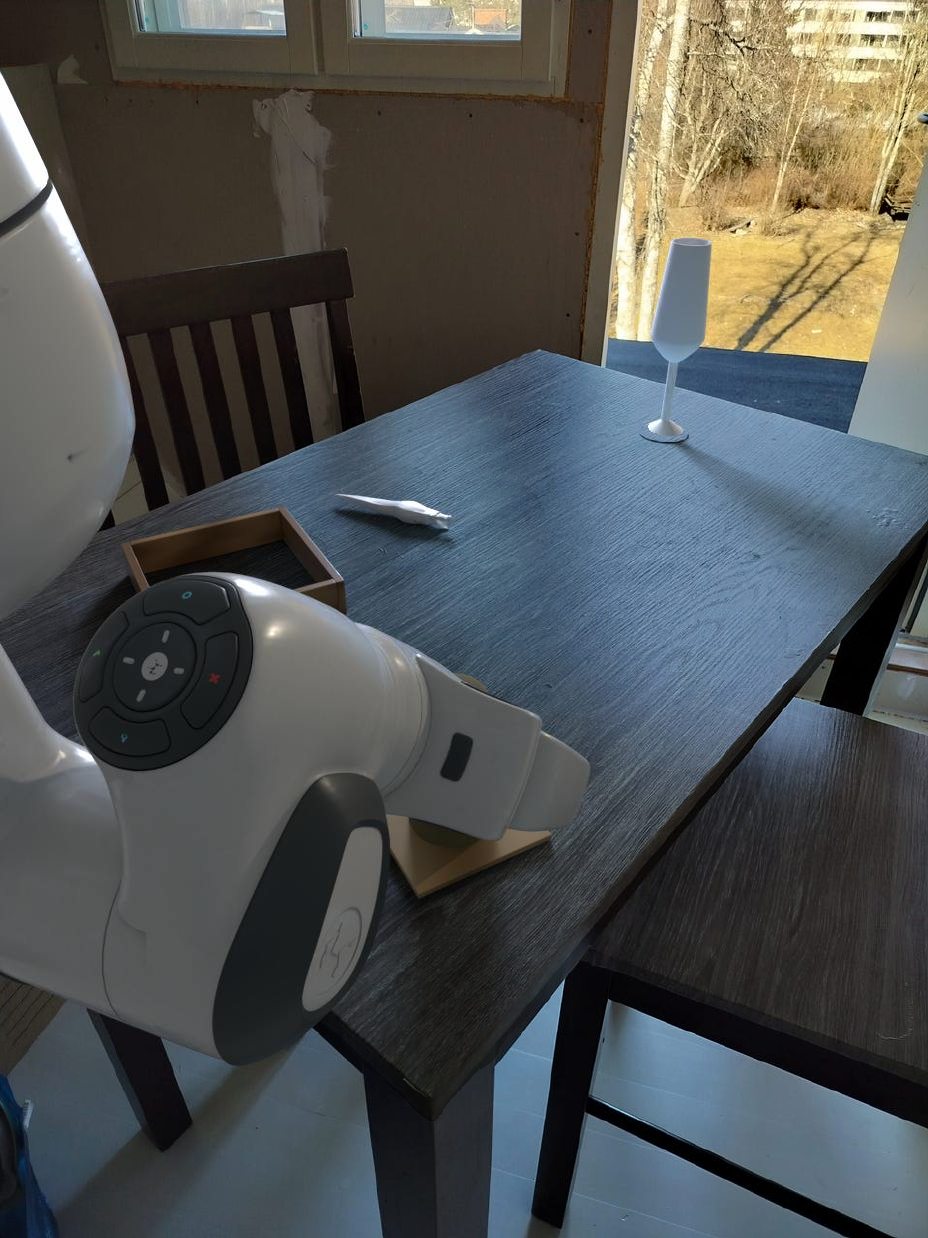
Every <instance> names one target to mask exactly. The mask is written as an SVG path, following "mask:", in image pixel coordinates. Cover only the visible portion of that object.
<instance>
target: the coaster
mask: <svg viewBox="0 0 928 1238" xmlns="http://www.w3.org/2000/svg"><path fill="white" fill-rule="evenodd" d="M386 818H387V823H388V829H389V835H390V855H391V856H392V858H393V859H394V861H395V863H396V865H397V866H398V868H399V869H400V871H401V873H402V874H403V876H404V879H406V881H407V883H408V885H409V887H410V888H411V890H412V891H413V893H414V894H415V896H416V898H417V899H418V900H420V899H422V898H424V897H427V896H429V895H431V894H434V893H436V892H437V891H440V890H442V889H444V888H447V887H448V886H451V885H454V884H455V883H457V882H459V881H462V880H464V879H466V878H469V877H471V876H473V875H475V874H478V873H479V872H482V871H484V870H487V869H488V868H491V867H493V866H495V865H497V864H500V863H502V862H504V861H507V860H508V859H511V858H513V857H515V856H517V855H520V854H522V853H524V852H526V851H528V850H531V849H533V848H535V847H538V846H539V845H543V844H545V843H546V842H548V841H550V840H552V833H551V832H550V830H548V831H537V832H528V831H519V830H513V829H508V828H507V830H506V832H505V834H504V836H503V838H502V839H501V840H498V841H486V840H482V839H480V840H479V841H477V842H475V843H472V844H469V845H466V846H464V847H451V848H448V847H443V846H437V845H434V844H432V843H430V842H428V841H425V840H423V839H422V838H421V837H420V836H419V835H418V834H417V833H416V832H415V831H414V830H413V828H412V826H411V824H410V822H409V817H404V816H398V815H389V814H386Z"/></svg>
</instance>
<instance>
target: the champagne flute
mask: <svg viewBox="0 0 928 1238" xmlns="http://www.w3.org/2000/svg"><path fill="white" fill-rule="evenodd" d="M712 245H713V242H712V241H711V240H708V239H704V238H699V237H677V238H672V239H671V241H670V245H669V249H668V252H667V258H666V263H665V267H664V271H663V276H662V280H661V284H660V285H661V286H660V288H659V289H660V290H659V293H658V299H657V303H656V307H655V311H654V317H653V321H652V325H651V331H650V338H651V341H652V343H653V345H654V347H655V349H656V350H657V351H658V353H660V356H661V357H663V358H664V359H665V360H666V361H668V366H667V373H666V382H665V388H664V395H663V402H662V409H661V415H660V419H657V420H654V421H651V422H650V423H648V424H649V425H648V428H649V430H650V431H651V432H653V433H657V434H658V435H666V436H675V435H677V436H678V435H680V434H682V433H683V429H684V428H683V427H681V426H680V425H678V424H677V423H675V422H674V421H673V420H671V415H672V409H673V401H674V394H675V388H676V380H677V375H678V367H679V363H681V362H683V361H684V360H686V359H688V358H689V357H690V356H691V355H693V354H694V353H695V352H697V350H698V349H699V348H700V347H701V346H702V344H703V343H704V341H705V339H706V331H707V319H708V318H707V315H708V304H709V303H708V302H709V301H708V300H709V289H710V288H709V287H710V275H711V262H712V261H711V260H712V249H713V247H712ZM682 428H683V429H682Z"/></svg>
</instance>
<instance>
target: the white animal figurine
mask: <svg viewBox="0 0 928 1238" xmlns="http://www.w3.org/2000/svg"><path fill="white" fill-rule="evenodd" d="M334 496H335V497H336V498H338V499H339V500H341V501H344V502H346V503H348V504H351V505H354V506H357V507H361V508H365V509H367V510H370V511H372V512H375V513H377V514H382V515H385V516H390V517H395V518H397V519H398V520H400V521H401V522H403V523H405V524H411V525H426V526H433V525H434V526H437V527H439V528H441V529H444V530H449V529H450V526H449V525H448V524H447V523H446V522H451V521H453V520H454V519H453V518H454V517H453V515H449V514H444V513H442V512H440V511H438V510H436V509H433V508H429V507H426V506H425V505H423V504H421V503H420V502H417V501H413V500H389V499H384V498H376V497H369V496H362V495H355V494H354V495H353V494H342V493H338V494H337V493H336V494H334Z"/></svg>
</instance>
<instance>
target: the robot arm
mask: <svg viewBox="0 0 928 1238" xmlns="http://www.w3.org/2000/svg"><path fill="white" fill-rule="evenodd" d="M30 133H31V132H30V131H29V129H28V126H27V125H26V123H25V120H24V119H23V116H22V114H21V112H20V109H19V108H18V106H17V103H16V101H15V99H14V96H13V95H12V93H11V90H10V88H9V86H8V84H7V82H6V79H5V78H4V76H3V74H2V72H1V71H0V623H1V622H3V621H4V620H6V619H7V618H8V617H10V616H11V615H13V614H14V613H16V612H17V611H19V609H21V608H22V607H24V606H25V605H27V604H28V603H29V602H30V601H31V600H33V599H34V598H36V597H37V596H38V595H39V594H40V593H41V592H42V591H44V590H45V589H46V588H47V587H48V586H50V585H51V584H52V583H53V582H54V581H55V580H56V579H57V578H58V577H59V576H61V575H62V574H63V573H64V572H65V571H66V570H67V569H68V568H69V567H70V566H71V564H73V563H74V561H75V560H76V559H77V558H78V557H79V556H80V555H81V554H82V553H83V552H84V551H85V550H86V548H87V547H88V546H89V544H90V543H91V541H92V540H93V538H94V537H95V536H96V534H97V533H98V531H99V530H100V529H101V527H102V525H103V524H104V522H105V520H106V518H107V517H108V515H109V513H110V511H111V509H112V508H113V506H114V503H115V501H116V498H117V496H118V494H119V492H120V489H121V486H122V484H123V482H124V479H125V474H126V471H127V467H128V464H129V461H130V457H131V452H132V448H133V442H134V436H135V432H136V415H135V408H134V407H135V406H134V402H133V395H132V389H131V383H130V378H129V374H128V369H127V365H126V361H125V357H124V352H123V349H122V345H121V343H120V338H119V336H118V331H117V329H116V326H115V323H114V320H113V317H112V315H111V311H110V309H109V306H108V305H107V302H106V299H105V297H104V294H103V292H102V289H101V287H100V285H99V282H98V280H97V278H96V275H95V273H94V271H93V269H92V266H91V264H90V261H89V259H88V258H87V255H86V253H85V251H84V249H83V246H82V244H81V243H80V241H79V237H78V236H77V234H76V231H75V229H74V227H73V225H72V223H71V220H70V218H69V216H68V214H67V212H66V209H65V207H64V205H63V202H62V200H61V198H60V196H59V194H58V192H57V190H56V188H55V186H54V183H53V181H52V180H51V178H49V173H48V169H47V167H46V165H45V163H44V160H43V159H42V156H41V155H40V152H39V151H38V148H37V145H36V144H35V142H34V139H33V137H32V136H31V134H30ZM11 661H12V660H11V659H10V658H9V656H8V654H7V652H6V650H5V649H4V647H3V645H2V644H1V643H0V979H4V980H6V981H10V982H13V983H16V984H21V985H25V986H30V987H35V988H37V989H39V990H42V991H45V992H47V993H50V994H52V995H54V996H57V997H60V998H62V999H64V1000H66V1001H69V1002H70V1003H74V1004H76V1005H79V1006H82V1007H84V1008H87V1009H89V1010H92V1011H93V1012H96V1013H99V1014H101V1015H103V1016H106V1017H108V1018H111V1019H114V1020H116V1021H118V1022H121V1023H123V1024H126V1025H128V1026H130V1027H133V1028H136V1029H139V1030H141V1031H144V1032H146V1033H149V1034H151V1035H154V1036H156V1037H159V1038H160V1039H164V1040H166V1041H168V1042H171V1043H172V1044H177V1045H178V1046H182V1047H184V1048H186V1049H190V1050H192V1051H195V1052H197V1053H199V1054H203V1055H205V1056H208V1057H210V1058H213V1059H216V1060H220V1061H224V1062H225V1063H227V1064H228V1065H231V1066H234V1067H244V1066H249V1065H252V1064H256V1063H259V1062H261V1061H263V1060H266V1059H268V1058H270V1057H272V1056H274V1055H276V1054H279V1053H280V1052H281V1051H283V1050H286V1049H287V1048H288V1047H290V1046H291V1045H292V1044H294V1043H295V1042H297V1041H298V1040H299V1039H300V1038H302V1037H303V1036H304V1035H306V1034H307V1033H308V1032H309V1031H311V1029H313V1028H314V1027H315V1026H316V1025H317V1024H319V1022H321V1020H322V1019H324V1018H325V1017H326V1016H327V1015H328V1014H329V1013H330V1012H331V1011H332V1010H333V1009H334V1008H335V1007H336V1006H338V1004H339V1003H340V1002H341V1001H342V999H343V998H344V997H345V996H346V995H347V994H348V992H349V991H350V990H351V988H352V987H353V986H354V985H355V983H356V981H357V979H358V978H359V976H360V974H361V973H362V971H363V969H364V967H365V965H366V963H367V960H368V958H369V956H370V954H371V951H372V948H373V946H374V943H375V939H376V936H377V933H378V930H379V926H380V923H381V919H382V915H383V910H384V906H385V902H386V897H387V891H388V883H389V876H390V875H389V873H390V864H391V863H390V862H391V861H390V859H391V853H390V835H389V829H388V823H387V818H386V814H389V815H398V816H404V817H410V818H413V820H416V821H420V822H424V823H428V824H431V825H435V826H438V827H442V828H445V829H448V830H451V831H454V832H457V833H460V834H463V835H467V836H473V837H476V838H479V839H482V840H486V841H498V840H501V839H502V838H503V836H504V834H505V832H506V830H507V828H508V829H513V830H519V831H528V832H537V831H554V830H555V831H556V830H560V829H565V828H567V827H569V826H570V825H571V824H572V823H573V822H574V820H575V818H576V816H577V814H578V811H579V809H580V806H581V803H582V800H583V797H584V795H585V792H586V788H587V786H588V782H589V778H590V774H591V765H590V762H589V761H588V759H586V758H585V756H583V755H581V754H580V753H579V752H577V751H576V750H574V749H573V748H572V747H571V746H569V745H568V744H566V743H565V742H563V741H562V740H560V739H558V738H557V737H554V736H553V735H551V734H549V733H547V732H545V731H543V730H542V727H543V720H542V718H541V717H540V716H539V715H538V714H537V713H534V712H533V711H530V710H527V709H524V708H523V707H522V706H521V705H518V704H517V703H514V702H511V701H508V700H506V699H503V698H501V697H499V696H497V695H494V694H491V693H489V692H488V693H487V692H485V691H483V690H481V689H479V688H477V687H476V686H474V685H472V684H470V683H468V682H466V681H462V680H461V679H460V678H458V677H457V676H456V675H454V674H453V673H454V672H452V671H450V670H449V669H448V668H447V667H445V666H444V665H442V664H441V663H440V662H438V661H437V660H435V659H433V658H431V657H429V656H427V655H426V654H424V653H423V652H422V651H420V650H419V649H417V648H415V647H413V646H412V645H410V644H407V643H405V642H403V641H401V640H399V639H398V638H395V637H393V636H392V635H389V634H388V633H385V632H383V631H381V630H379V629H377V628H376V627H372V626H370V625H367V624H363V623H360V622H355V621H353V620H351V619H350V618H349V617H348V616H347V615H346V614H345V613H341V612H339V611H337V610H336V609H334V608H332V607H330V606H328V605H326V604H324V603H322V602H319V601H317V600H315V599H313V598H311V597H308V596H306V595H304V594H301V593H299V592H296V591H294V589H291V588H288V587H285V586H283V585H280V584H277V583H274V582H271V581H268V580H265V579H261V578H257V577H253V576H250V575H244V574H240V573H239V574H238V573H232V572H221V571H220V572H219V571H208V572H207V571H206V572H193V573H188V574H187V573H186V574H182V575H177V576H175V577H171V578H168V579H166V580H162V581H160V582H157V583H154V584H153V585H151V586H149V588H147V589H145V590H143V591H142V592H140V593H138V594H137V593H135V595H133V596H132V597H131V598H129V599H128V600H126V601H125V602H123V603H122V604H121V605H120V606H119V607H118V608H116V609H115V611H113V612H112V613H111V614H110V615H109V616H108V617H107V619H106V620H105V621H104V622H103V623H102V624H101V626H100V627H99V628H98V630H96V632H95V634H94V635H93V637H92V638H91V640H90V641H89V644H87V647H86V648H85V651H84V653H83V654H82V657H81V660H80V662H79V665H78V667H77V672H76V675H75V679H74V683H73V684H74V685H73V692H72V693H73V694H72V709H73V710H72V711H73V718H74V723H75V728H76V730H77V733H78V735H79V738H80V740H81V742H82V744H81V743H77V742H74V741H73V740H71V739H69V738H67V737H65V736H63V735H62V734H61V733H59V732H58V731H56V730H55V729H54V728H53V727H51V726H50V725H49V724H48V723H47V721H46V720H45V719H44V717H43V715H42V713H41V712H40V710H39V708H38V706H37V705H36V703H35V701H34V699H33V698H32V696H31V694H30V692H29V691H28V689H27V687H26V685H25V684H24V682H23V680H22V678H21V677H20V675H19V674H18V671H17V669H16V668H15V666H14V664H13V662H11Z"/></svg>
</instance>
